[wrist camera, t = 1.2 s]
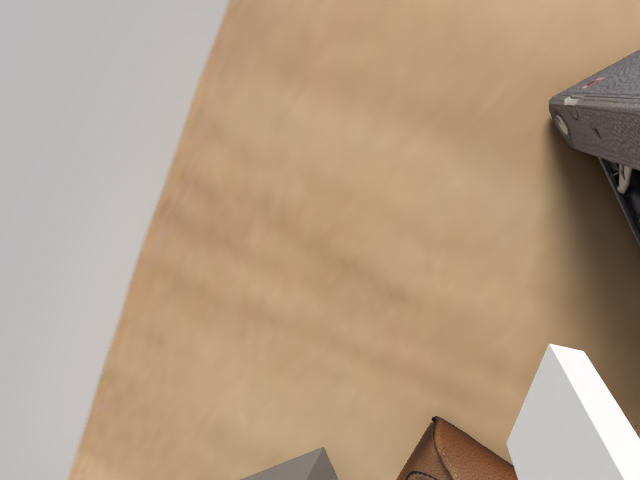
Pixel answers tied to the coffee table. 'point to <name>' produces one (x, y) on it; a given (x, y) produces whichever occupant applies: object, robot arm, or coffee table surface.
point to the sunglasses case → (453, 457)
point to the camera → (607, 128)
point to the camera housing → (300, 469)
